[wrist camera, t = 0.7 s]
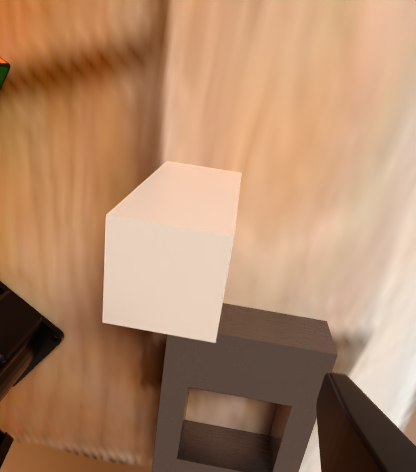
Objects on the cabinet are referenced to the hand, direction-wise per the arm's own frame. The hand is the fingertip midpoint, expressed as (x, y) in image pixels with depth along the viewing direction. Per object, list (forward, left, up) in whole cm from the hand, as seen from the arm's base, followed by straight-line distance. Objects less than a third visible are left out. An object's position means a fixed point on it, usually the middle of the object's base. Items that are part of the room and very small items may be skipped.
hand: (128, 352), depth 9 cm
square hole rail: (-8, -11, -13) cm, 19 cm away
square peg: (0, 0, -13) cm, 13 cm away
